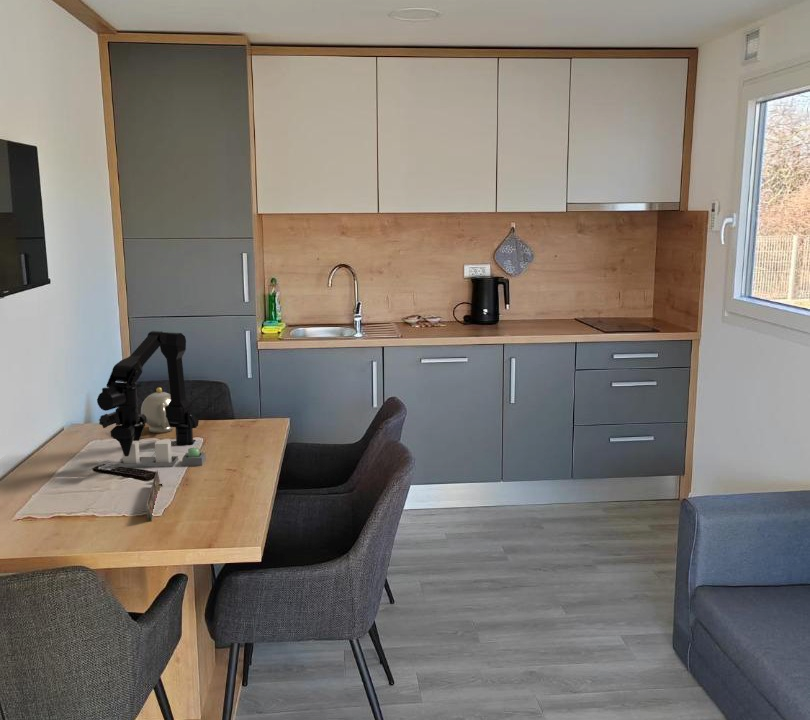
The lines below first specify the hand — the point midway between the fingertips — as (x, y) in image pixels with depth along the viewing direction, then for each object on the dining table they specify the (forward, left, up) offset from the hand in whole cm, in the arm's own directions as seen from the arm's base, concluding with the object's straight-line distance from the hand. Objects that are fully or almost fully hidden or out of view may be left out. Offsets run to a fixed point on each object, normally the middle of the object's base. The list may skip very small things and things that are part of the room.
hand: (130, 451), depth 252 cm
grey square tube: (0, +20, -5) cm, 20 cm away
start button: (0, +20, -3) cm, 20 cm away
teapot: (-44, -1, -5) cm, 44 cm away
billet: (0, 0, -4) cm, 4 cm away
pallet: (0, +5, -5) cm, 7 cm away
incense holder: (+33, +16, -6) cm, 36 cm away
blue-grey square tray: (-10, 0, -5) cm, 11 cm away
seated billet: (0, +10, -4) cm, 11 cm away
